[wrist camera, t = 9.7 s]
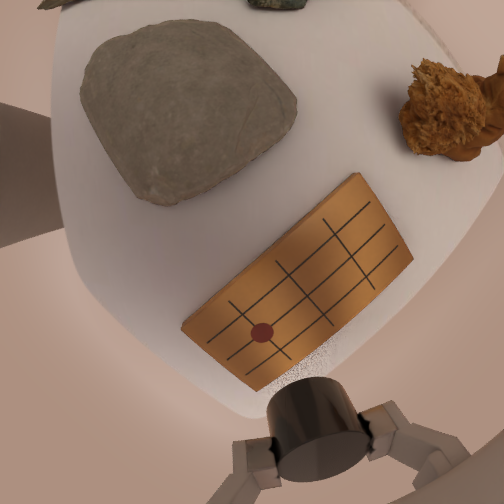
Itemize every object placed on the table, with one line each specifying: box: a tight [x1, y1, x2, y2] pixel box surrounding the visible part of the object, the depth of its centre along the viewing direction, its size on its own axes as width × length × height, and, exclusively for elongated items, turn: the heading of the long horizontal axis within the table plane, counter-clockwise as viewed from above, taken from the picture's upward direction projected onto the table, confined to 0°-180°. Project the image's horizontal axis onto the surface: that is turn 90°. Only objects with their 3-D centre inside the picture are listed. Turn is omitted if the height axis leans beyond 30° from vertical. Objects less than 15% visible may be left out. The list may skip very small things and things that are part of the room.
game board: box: [181, 173, 414, 392], centre depth 23 cm, size 20×10×1 cm, turn 131°
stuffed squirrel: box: [398, 55, 504, 162], centre depth 14 cm, size 10×14×13 cm
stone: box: [80, 19, 297, 206], centre depth 17 cm, size 18×4×15 cm
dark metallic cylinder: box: [266, 377, 371, 482], centre depth 9 cm, size 4×4×3 cm
